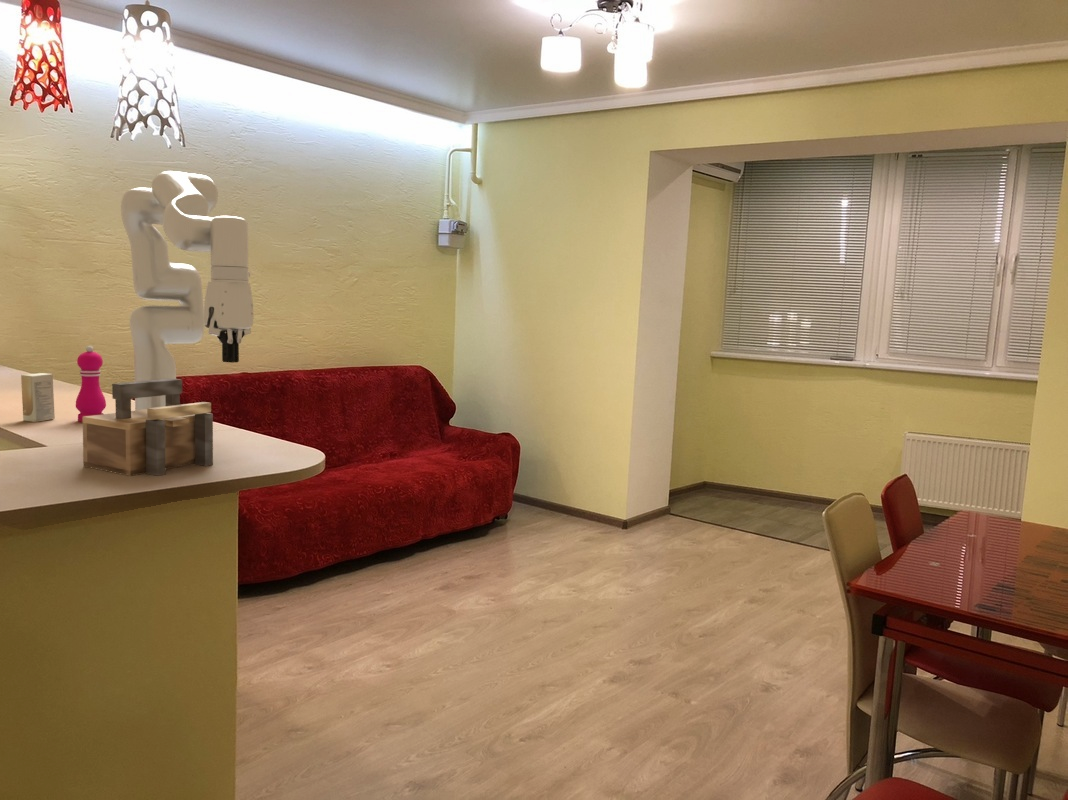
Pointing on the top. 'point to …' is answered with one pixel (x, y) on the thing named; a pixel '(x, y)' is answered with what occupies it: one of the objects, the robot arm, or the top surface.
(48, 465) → the top surface
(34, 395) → the skincare box
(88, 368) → the pepper mill
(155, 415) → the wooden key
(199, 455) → the toolbox
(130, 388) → the toolbox lid
